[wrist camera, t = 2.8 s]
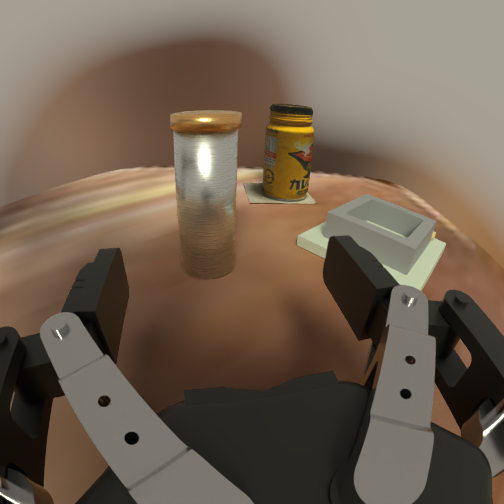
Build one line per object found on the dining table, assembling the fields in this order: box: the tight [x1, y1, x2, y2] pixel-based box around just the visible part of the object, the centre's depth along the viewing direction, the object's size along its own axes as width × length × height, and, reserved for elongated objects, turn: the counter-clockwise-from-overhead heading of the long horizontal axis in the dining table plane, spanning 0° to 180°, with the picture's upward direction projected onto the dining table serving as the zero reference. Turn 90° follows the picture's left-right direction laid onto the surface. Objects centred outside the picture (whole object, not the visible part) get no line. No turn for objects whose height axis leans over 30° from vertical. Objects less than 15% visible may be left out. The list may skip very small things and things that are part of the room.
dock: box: [297, 194, 446, 291], centre depth 28 cm, size 12×12×4 cm
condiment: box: [244, 104, 317, 204], centre depth 37 cm, size 7×8×12 cm
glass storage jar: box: [171, 110, 242, 279], centre depth 22 cm, size 5×5×12 cm
